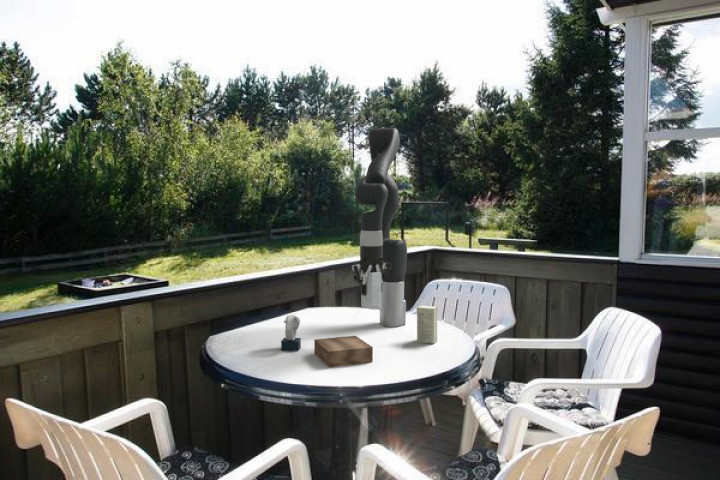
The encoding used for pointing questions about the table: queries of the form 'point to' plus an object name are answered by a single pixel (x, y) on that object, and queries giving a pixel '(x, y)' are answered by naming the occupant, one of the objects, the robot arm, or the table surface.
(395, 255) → the robot arm
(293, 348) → the white bust on pedestal
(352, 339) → the walnut block
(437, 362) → the table surface
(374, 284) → the skincare box
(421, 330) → the skincare box
